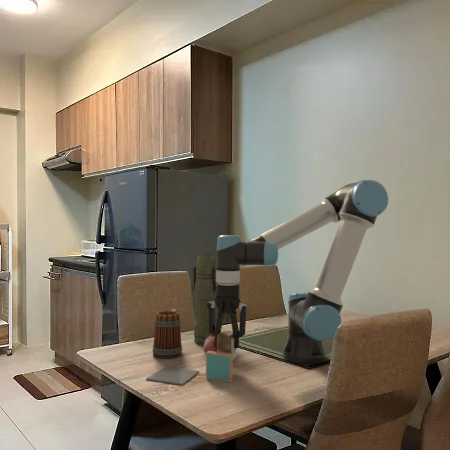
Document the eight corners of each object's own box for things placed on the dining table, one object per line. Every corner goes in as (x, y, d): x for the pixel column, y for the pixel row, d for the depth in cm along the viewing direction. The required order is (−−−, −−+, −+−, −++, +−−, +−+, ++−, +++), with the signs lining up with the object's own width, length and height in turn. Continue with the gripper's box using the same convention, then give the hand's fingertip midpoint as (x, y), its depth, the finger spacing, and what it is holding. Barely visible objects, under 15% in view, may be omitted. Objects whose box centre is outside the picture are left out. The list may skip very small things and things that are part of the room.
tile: (232, 380, 131) (233, 353, 131) (230, 382, 129) (230, 355, 129) (208, 376, 134) (208, 350, 134) (205, 378, 132) (205, 352, 132)
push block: (235, 356, 140) (236, 331, 140) (228, 361, 135) (229, 335, 135) (224, 355, 142) (224, 330, 142) (217, 360, 136) (217, 334, 136)
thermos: (214, 345, 168) (215, 255, 168) (187, 342, 173) (188, 254, 173) (222, 340, 177) (224, 254, 177) (196, 337, 181) (197, 253, 181)
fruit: (232, 355, 157) (233, 327, 157) (224, 363, 148) (224, 333, 148) (209, 352, 160) (209, 325, 160) (199, 360, 151) (199, 331, 151)
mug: (176, 359, 150) (177, 316, 150) (148, 357, 152) (148, 314, 152) (189, 347, 166) (189, 308, 166) (163, 345, 168) (163, 306, 168)
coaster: (199, 372, 137) (199, 371, 137) (182, 385, 126) (182, 383, 126) (165, 367, 142) (165, 366, 142) (146, 379, 130) (146, 378, 130)
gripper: (257, 284, 139) (255, 357, 138) (207, 280, 145) (206, 350, 145) (249, 286, 132) (248, 364, 131) (198, 283, 138) (197, 357, 138)
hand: (226, 357), depth 138 cm, fingers closed on push block, 4 cm apart
